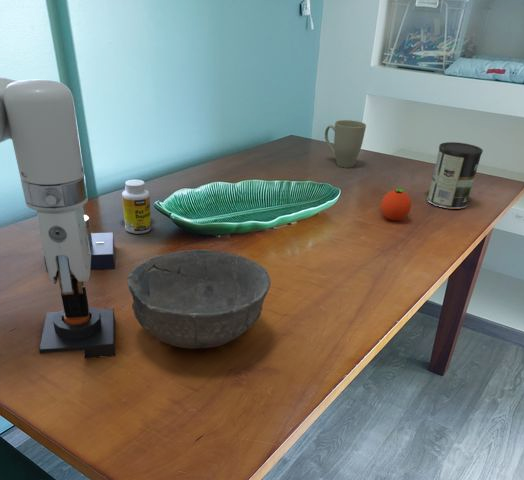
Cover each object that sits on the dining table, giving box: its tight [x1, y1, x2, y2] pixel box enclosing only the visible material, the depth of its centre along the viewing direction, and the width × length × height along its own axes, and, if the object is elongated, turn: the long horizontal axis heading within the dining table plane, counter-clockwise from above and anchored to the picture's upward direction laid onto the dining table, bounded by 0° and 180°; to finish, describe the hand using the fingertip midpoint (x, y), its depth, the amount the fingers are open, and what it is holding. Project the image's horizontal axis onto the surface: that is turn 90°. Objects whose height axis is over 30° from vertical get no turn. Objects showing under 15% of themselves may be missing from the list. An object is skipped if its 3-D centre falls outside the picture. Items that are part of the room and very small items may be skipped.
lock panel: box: [43, 232, 116, 273], centre depth 101 cm, size 12×10×3 cm
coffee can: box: [426, 141, 484, 208], centre depth 135 cm, size 10×10×14 cm
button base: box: [38, 306, 116, 359], centre depth 79 cm, size 10×10×4 cm
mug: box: [324, 119, 367, 169], centre depth 159 cm, size 11×10×12 cm
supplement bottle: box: [121, 179, 152, 235], centre depth 112 cm, size 6×6×10 cm
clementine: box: [380, 188, 412, 221], centre depth 126 cm, size 8×7×7 cm
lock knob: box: [84, 214, 92, 246], centre depth 99 cm, size 4×4×5 cm
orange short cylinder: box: [64, 314, 90, 325], centre depth 78 cm, size 4×4×2 cm
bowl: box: [127, 249, 272, 349], centre depth 81 cm, size 21×21×10 cm
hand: (77, 314), depth 78 cm, fingers closed
